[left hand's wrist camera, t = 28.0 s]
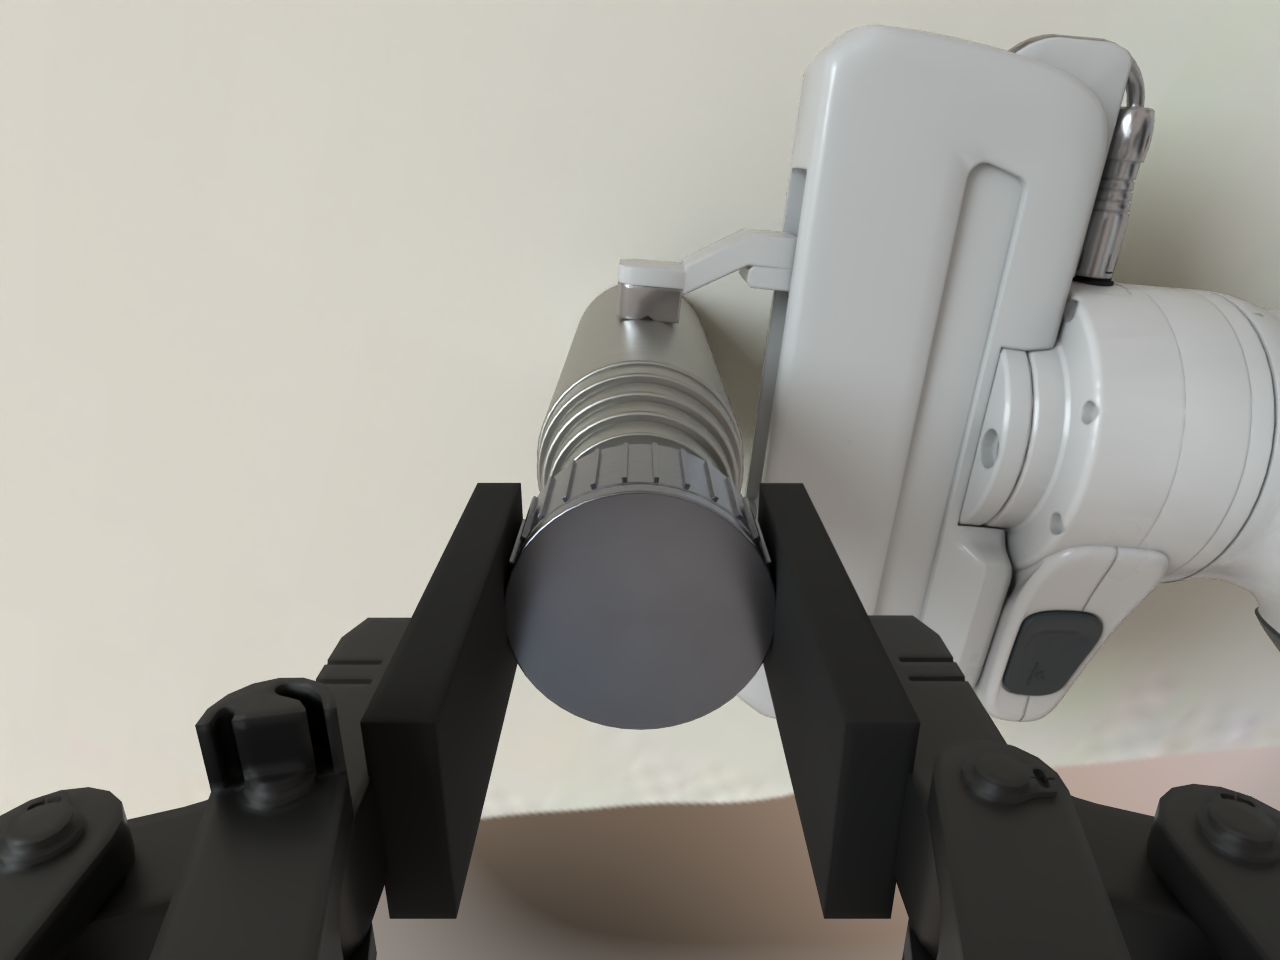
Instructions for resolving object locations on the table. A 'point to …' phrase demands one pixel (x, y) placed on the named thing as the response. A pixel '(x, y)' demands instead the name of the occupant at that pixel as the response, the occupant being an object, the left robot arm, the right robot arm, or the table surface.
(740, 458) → the bottle
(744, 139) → the table surface
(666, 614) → the cap
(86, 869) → the left robot arm
